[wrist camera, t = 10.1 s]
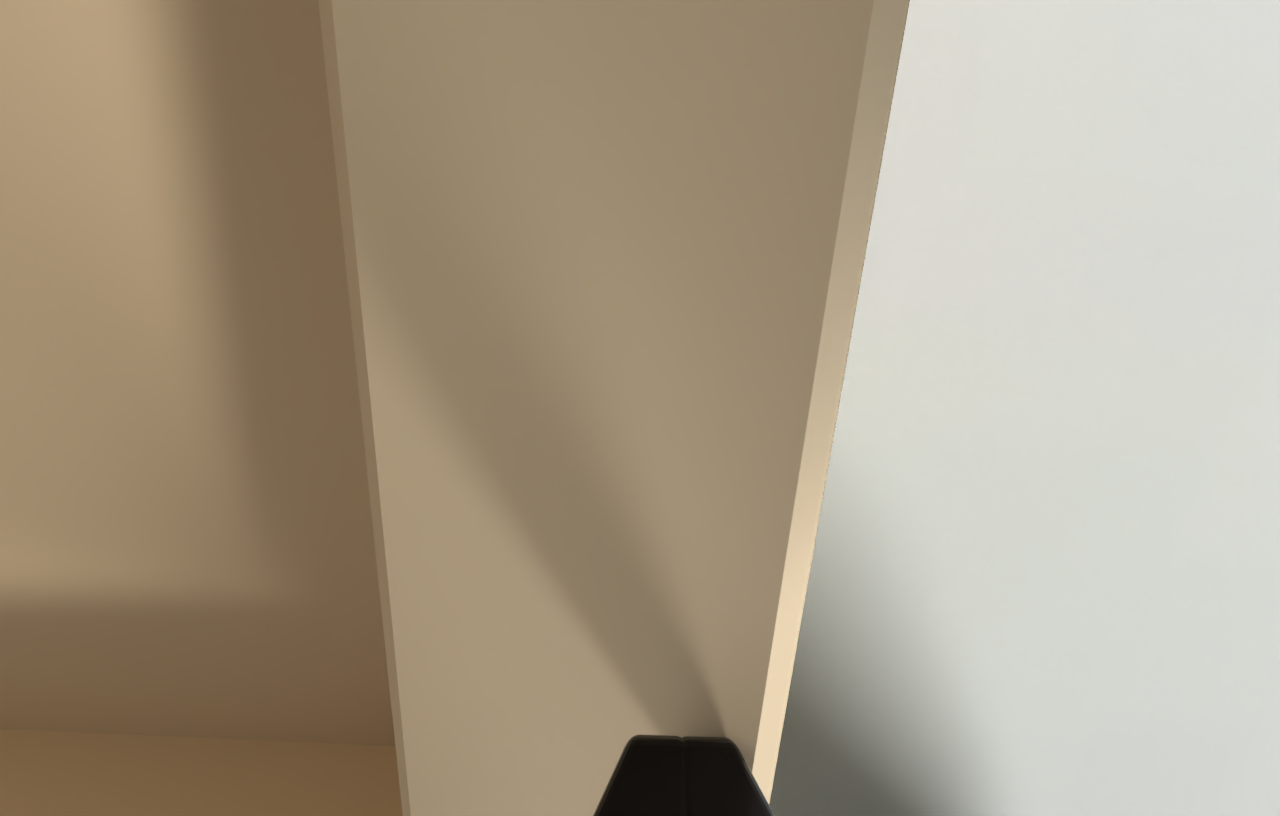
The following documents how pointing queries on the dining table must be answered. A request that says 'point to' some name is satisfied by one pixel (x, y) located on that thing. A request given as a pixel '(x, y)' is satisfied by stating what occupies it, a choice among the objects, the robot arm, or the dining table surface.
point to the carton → (186, 422)
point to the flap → (603, 363)
